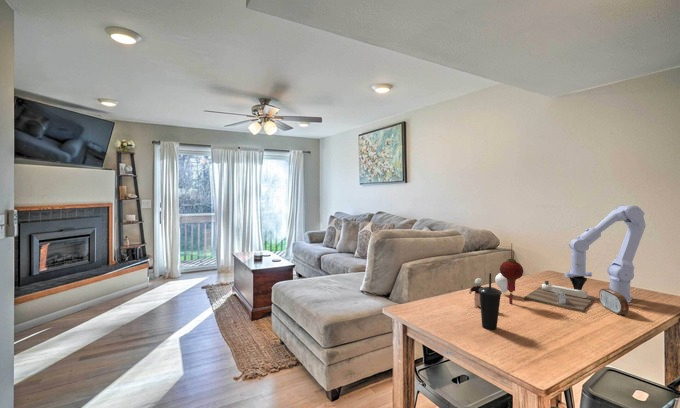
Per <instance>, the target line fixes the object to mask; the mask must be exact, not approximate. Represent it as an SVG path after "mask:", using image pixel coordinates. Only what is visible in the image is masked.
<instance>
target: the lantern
mask: <svg viewBox="0 0 680 408" xmlns="http://www.w3.org/2000/svg"><path fill="white" fill-rule="evenodd" d="M510 246H511V247H510V248H511V255H510V256H511V258H506V259H507V260H506V261H503V262H502V263H501V264H500V266H499V273H501V274H502V276H504V277H505V278H506V279H507V291H508V292H510V293H509V297H508V298H509V300H508V301H509V302H508V303H509V305H513V292H515V291H516V280H518V279H521V278H522V276H523V275H524V267H523V266H522V264H521V263H519V262H517V260H516V259H514V258H513V244H511V245H510Z"/></svg>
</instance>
